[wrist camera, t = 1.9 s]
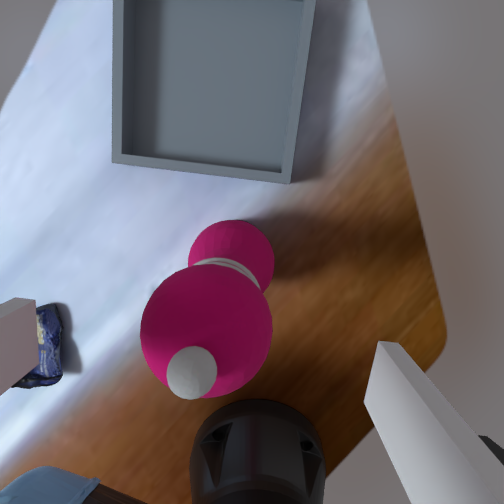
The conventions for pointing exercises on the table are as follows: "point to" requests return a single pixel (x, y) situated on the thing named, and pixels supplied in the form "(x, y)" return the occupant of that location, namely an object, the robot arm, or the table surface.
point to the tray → (209, 85)
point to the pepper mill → (212, 314)
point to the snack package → (45, 350)
